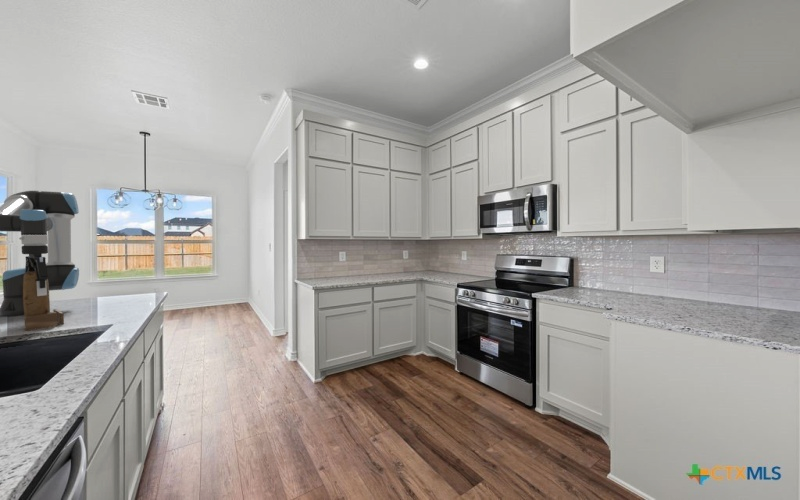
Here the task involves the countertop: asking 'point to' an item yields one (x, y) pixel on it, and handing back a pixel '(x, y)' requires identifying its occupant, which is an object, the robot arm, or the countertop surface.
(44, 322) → the lane backstop
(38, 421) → the countertop surface
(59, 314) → the lane rail
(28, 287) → the block
